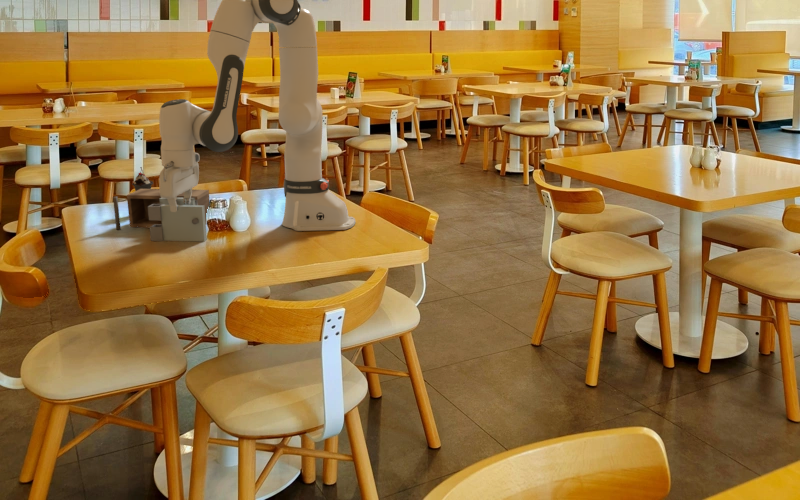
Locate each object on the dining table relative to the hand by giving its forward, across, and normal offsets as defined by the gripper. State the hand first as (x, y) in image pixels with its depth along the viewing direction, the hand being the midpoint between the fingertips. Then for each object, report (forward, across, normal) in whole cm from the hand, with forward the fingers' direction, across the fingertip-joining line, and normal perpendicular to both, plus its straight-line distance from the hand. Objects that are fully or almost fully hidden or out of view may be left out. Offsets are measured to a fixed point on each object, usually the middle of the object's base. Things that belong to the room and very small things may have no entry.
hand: (180, 207), depth 221 cm
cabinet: (+10, +16, +12) cm, 22 cm away
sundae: (+10, +32, +25) cm, 42 cm away
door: (+10, 0, +1) cm, 10 cm away
